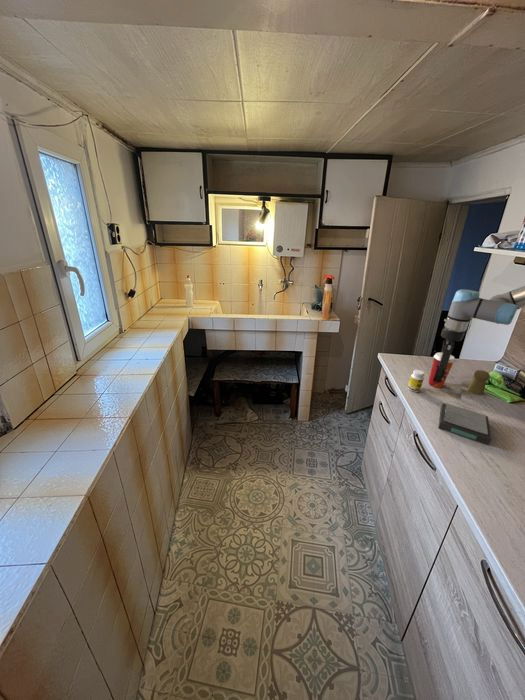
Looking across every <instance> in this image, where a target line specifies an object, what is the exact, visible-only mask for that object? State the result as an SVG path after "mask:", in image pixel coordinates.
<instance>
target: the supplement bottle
mask: <svg viewBox="0 0 525 700" xmlns="http://www.w3.org/2000/svg"><path fill="white" fill-rule="evenodd" d="M424 379H425V372H424V371H423V370H420V369H414V370H413V372H412V374H411V375H410V378H409V381H408V385H407V389H408V390H409V391H411V392H414V393H419V392H420V391H421V389H422V386H423V381H424Z"/></svg>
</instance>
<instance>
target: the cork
mask: <svg viewBox="0 0 525 700" xmlns="http://www.w3.org/2000/svg"><path fill="white" fill-rule="evenodd" d="M490 378H491V374H490V373H489V372H488V371H486V370H481V369H477V370H475V371H474V373H473V379H472V380H471V382H470V384H469V386H468V387H467V388H466V390H467V391H468V392H469V393H471V394H474V395H477V396H483V395H484V393H485V388H486V384H487V382H488V381H489V380H490Z"/></svg>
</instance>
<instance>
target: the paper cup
mask: <svg viewBox="0 0 525 700" xmlns="http://www.w3.org/2000/svg"><path fill="white" fill-rule="evenodd" d="M442 354H443V353H441V351H439V352H436V353H435V354H434V355H433V362H432V366H431V369H430V372H429V373H430V374H429V377H428V381H427V382H428V385H429V386H431V387H434V388H436V389H441V388H443V386H444V385H445V382H446V380H447V378H448V376H449V373H450V372H451V369H452V367H453V365H454V363H455V362H456V361H455V360H456V359H455V356H454V355H452V354H451V355H450V358H449V361H448V364H447V367H446V370H445V372H444V375H443V377H442V380H441V383H439V382H435V381H433V379H434V376H435V373H436V371H437V368H438V367H436V366H437V365H438V366H439V364H440V360H441V357H442ZM442 366H443V365H442Z"/></svg>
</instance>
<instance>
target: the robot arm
mask: <svg viewBox="0 0 525 700" xmlns="http://www.w3.org/2000/svg"><path fill="white" fill-rule="evenodd" d="M523 308H525V285H523V286H521V287H517V288H515V289H513V290H510V291H507V292H504V293H502V294H496V295H494V296H492V297H491V298H489V299H486V298H481V297H480V292H479V291H476V290H472V289H465V288H463V289H461V288H460V289H458V290H457V291H456V292H455V294H454V296H453V299H452V301H451V304H450V307H449V310H448V314H447V316H446V318H444V320H443V321H444V327H443V328H442V330H441V333H440V337H442V338H443V339H444V340H443V342H442V348H441V349H440V352H441V353H443V354H442V357H441V360H440V364H439V366H438V365H437V366H436V367H438V368H437V371H436V373H435V376H434V379H433V381H435V382H439V383H441V380H442V377H443V375H444V372H445V370H446V367H447V364H448V361H449V358H450V355H452V353H453V350H454V348H455V346H456V342H461V341H462V340H463V339H464V336H465V334H466V331H467V329H468V326H469V323H470V322H471V321H470V320H471V318H472V319H476V320H479V321H480V320H481V321H485V322H490V323H494V324H497V325H506V326H509V325H510V324H512V322H513V319H514V317H515V315H516V313H517V311H518V310H521V309H523ZM442 365H443V366H442Z"/></svg>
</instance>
